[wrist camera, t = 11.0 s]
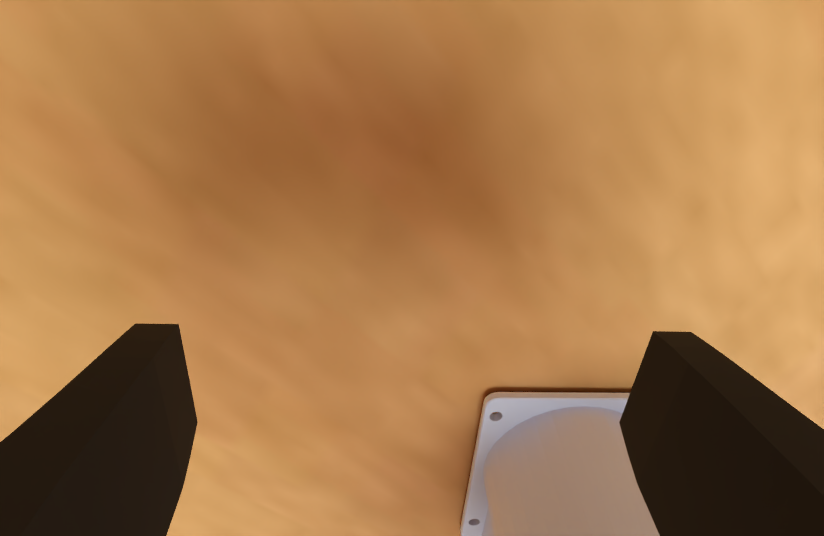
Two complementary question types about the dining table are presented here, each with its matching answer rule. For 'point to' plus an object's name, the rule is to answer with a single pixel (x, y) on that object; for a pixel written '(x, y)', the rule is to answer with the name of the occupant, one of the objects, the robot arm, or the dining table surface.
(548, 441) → the robot arm
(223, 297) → the dining table surface
